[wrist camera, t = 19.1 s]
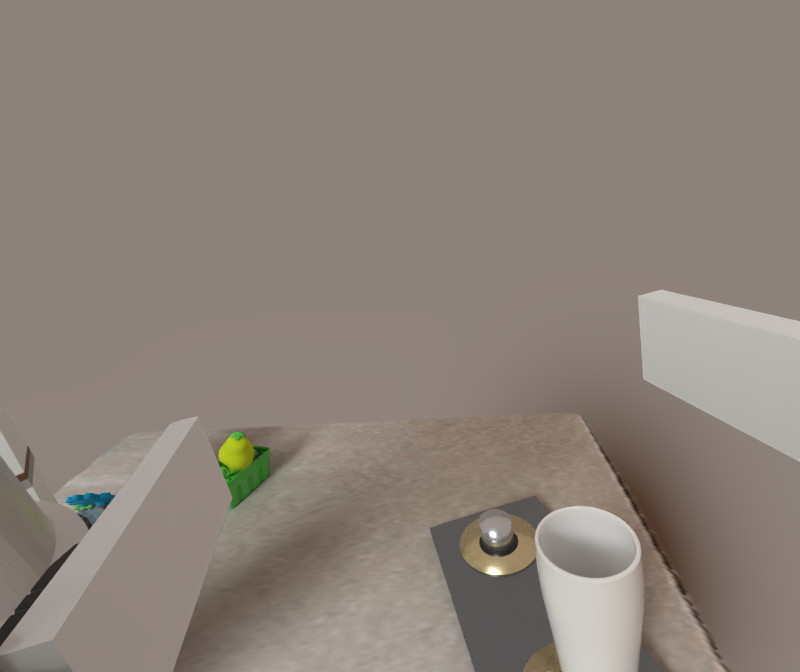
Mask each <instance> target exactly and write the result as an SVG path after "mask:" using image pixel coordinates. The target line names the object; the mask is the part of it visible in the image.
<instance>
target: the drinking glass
mask: <svg viewBox="0 0 800 672" xmlns="http://www.w3.org/2000/svg"><path fill="white" fill-rule="evenodd" d="M535 549H536V561H537V569H538V576H539V582H540V587H541V592H542V596H543V600H544V604H545V608H546V612H547V616H548V620H549V623H550V627H551V631H552V635H553V639H554V643H555V647H556V651H557V655H558V659H559V663H560V667H561V672H639V661H640V649H641V638H642V627H643V616H644V602H645V585H644V568H643V559H642V550H641V544H640V541H639V539H638V537H637V535H636V533H635V532H634V530H633V529H632V528H631V527H630V526H629V525H628V524H627V523H626V522H625V521H624V520H622V519H621V518H619V517H618V516H616V515H614V514H612V513H610V512H608V511H605V510H602V509H599V508H595V507H589V506H569V507H564V508H560V509H558V510H555V511H553V512H551V513H549V514H548V515H547V516H545V517H544V518H543V519H542V520H541V522H540V523H539V525H538V526H537V529H536V532H535Z"/></svg>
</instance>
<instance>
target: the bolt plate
mask: <svg viewBox="0 0 800 672" xmlns="http://www.w3.org/2000/svg"><path fill="white" fill-rule="evenodd" d="M547 515H548V514H547V512H546V511H545V509H544V508H543V507H542V505H541V504H540V503H539V501H538V500H537V498H536V497H535V496H533V497H530V498H526V499H523V500H520V501H517V502H513V503H510V504H507V505H504V506H500V507H497V508H494V509H491V510H487V511H484V512H481V513H477V514H474V515H471V516H468V517H464V518H461V519H458V520H455V521H451V522H448V523H445V524H442V525H438V526H435V527H432V528H430V530H431V534H432V537H433V540H434V544H435V547H436V550H437V553H438V556H439V559H440V563H441V566H442V569H443V572H444V575H445V578H446V582H447V585H448V588H449V591H450V594H451V597H452V601H453V604H454V607H455V610H456V613H457V616H458V619H459V623H460V626H461V629H462V632H463V635H464V638H465V642H466V645H467V648H468V651H469V654H470V657H471V661H472V664H473V667H474V670H475V672H561V667H560V663H559V659H558V655H557V651H556V647H555V643H554V639H553V635H552V631H551V627H550V623H549V620H548V616H547V612H546V608H545V604H544V600H543V596H542V592H541V587H540V582H539V576H538V569H537V561H536V549H535V532H536V529H537V526H538V525H539V523H540V522H541V520H542V519H543V518H544V517H545V516H547ZM639 672H662V671H661V669H660V668H659V667H658V665H657V664H656V663H655V661H654V660H653V658H652V657H651V656H650V654H649V653H648V652H647V650H646V649H645V647H644V646H643V645H642V643H641V649H640V661H639Z"/></svg>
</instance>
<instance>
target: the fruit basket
mask: <svg viewBox="0 0 800 672" xmlns="http://www.w3.org/2000/svg"><path fill="white" fill-rule="evenodd" d="M269 453H270V448H268V447H261V446H253V445H252V444H251V442H250V441H249V440H248V439H247V438H246V435H245V434H244V433H243V432H240V431H239V432H234V433H232V434H231V435H230V436H229V438H228V439H227V441H226V442H225V443H224V444H223V445H222V447H221V448H220V450H219V453H218V457H219V462H218V464H219V466H220V468H221V471H222V473H223V476H224V478H225V481H226V483H227V486H228V488H229V490H230V493H231V495H232V501H231V504H230V507H229V508H230V509H233V508H234V507H235V506H236V505H237V504H239V502H240V501H241V500H243V499H244V498H245V497H246V496H247V495H248V494H250V492H251V491H252V490H254V489H255V488H256V487H257V486H258V485H259V484H260V483H261V482H262V481H263V480H265V479H266V478H267V477H268V476H269V475H270V473H269Z"/></svg>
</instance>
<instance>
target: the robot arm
mask: <svg viewBox="0 0 800 672" xmlns="http://www.w3.org/2000/svg"><path fill="white" fill-rule="evenodd" d="M638 304H639V318H640V333H641V350H642V365H643V379H644V380H646V381H648V382H650V383H652V384H654V385H656V386H657V387H659V388H661V389H663V390H665V391H667V392H669V393H671V394H673V395H675V396H676V397H678V398H681V399H682V400H684V401H686V402H688V403H690V404H692V405H693V406H695V407H697V408H699V409H701V410H703V411H705V412H707V413H709V414H711V415H712V416H714V417H716V418H718V419H720V420H722V421H724V422H726V423H728V424H729V425H731V426H733V427H735V428H737V429H739V430H741V431H743V432H745V433H746V434H748V435H750V436H752V437H754V438H756V439H758V440H760V441H762V442H764V443H765V444H767V445H769V446H771V447H773V448H775V449H777V450H779V451H781V452H782V453H784V454H786V455H788V456H790V457H792V458H794V459H796V460H798V461H800V322H799V321H795V320H791V319H786V318H782V317H777V316H773V315H769V314H765V313H761V312H756V311H752V310H747V309H743V308H738V307H734V306H730V305H725V304H721V303H717V302H713V301H708V300H704V299H700V298H695V297H691V296H686V295H682V294H677V293H673V292H669V291H665V290H659V291H655V292H651V293H648V294H644V295H641V296H638ZM231 501H232V495H231V493H230V490H229V488H228V486H227V483H226V481H225V478H224V476H223V473H222V471H221V468H220V466H219V464H218V461H217V459H216V456H215V454H214V451H213V449H212V446H211V444H210V442H209V439H208V437H207V434H206V432H205V429H204V427H203V425H202V422H201V420H200V417H199V416H195V417H191V418H188V419H184V420H180V421H177V422H173V423H170V425H169V426H168V427H167V429H166V430H165V431H164V433H163V434H162V435H161V437H160V438H159V439H158V441H157V442H156V443H155V444H154V446H153V447H152V448H151V450H150V451H149V452H148V454H147V455H146V456H145V458H144V459H143V460H142V462H141V463H140V464H139V465H138V467H137V468H136V469H135V471H134V472H133V473H132V475H131V476H130V477H129V479H128V480H127V481H126V483H125V484H124V485H123V486H122V488H121V489H120V490H119V492H118V493H117V494H116V496H115V497H114V498H113V500H112V501H111V502H110V504H109V505H108V506H107V507H106V509H105V510H104V509H101V508H93V509H91V510H89V511H82V512H79V513H77V514H76V513H75V512H74V511H73V510H71V509H69V508H68V507H66V506H63V505H60V504H57V503H51V502H45V501H34V500H33V498H32V497H31V496H30V494H29V493H28V492H27V490H26V489H25V488H24V486H23V485H22V484H21V482H20V481H19V480H18V478H17V477H16V476H15V474H14V473H13V472H12V470H11V469H10V468H9V466H8V465H7V464H6V462H5V461H4V460H3V458H2V457H1V456H0V672H173V670H174V667H175V664H176V661H177V658H178V655H179V652H180V649H181V646H182V643H183V640H184V638H185V635H186V632H187V629H188V626H189V623H190V620H191V617H192V614H193V611H194V608H195V606H196V603H197V600H198V597H199V594H200V591H201V588H202V585H203V582H204V579H205V577H206V574H207V571H208V568H209V565H210V562H211V559H212V556H213V553H214V550H215V547H216V545H217V542H218V539H219V536H220V533H221V530H222V527H223V524H224V521H225V518H226V515H227V513H228V510H229V507H230V504H231Z"/></svg>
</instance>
